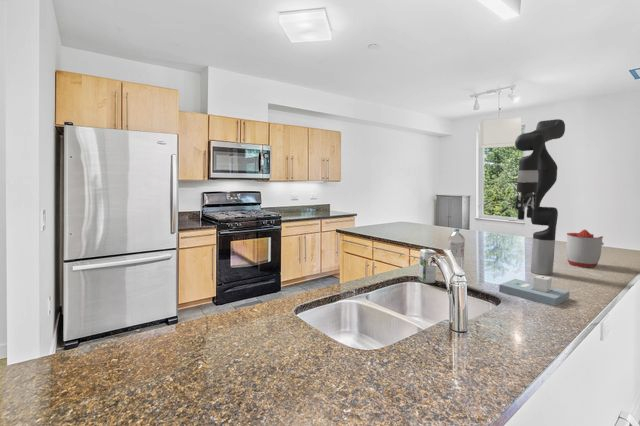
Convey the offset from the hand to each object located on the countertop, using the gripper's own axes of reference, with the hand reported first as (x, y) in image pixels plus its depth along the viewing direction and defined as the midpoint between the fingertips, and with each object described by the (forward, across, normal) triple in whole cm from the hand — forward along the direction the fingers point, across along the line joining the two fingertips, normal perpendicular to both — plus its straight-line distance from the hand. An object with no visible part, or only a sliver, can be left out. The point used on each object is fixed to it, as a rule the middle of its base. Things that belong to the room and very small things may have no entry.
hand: (525, 218), depth 142 cm
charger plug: (+30, +10, +12) cm, 33 cm away
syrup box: (+29, +30, -28) cm, 50 cm away
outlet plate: (+29, +10, +9) cm, 32 cm away
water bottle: (+29, +24, -18) cm, 42 cm away
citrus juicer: (+32, -66, +5) cm, 73 cm away
